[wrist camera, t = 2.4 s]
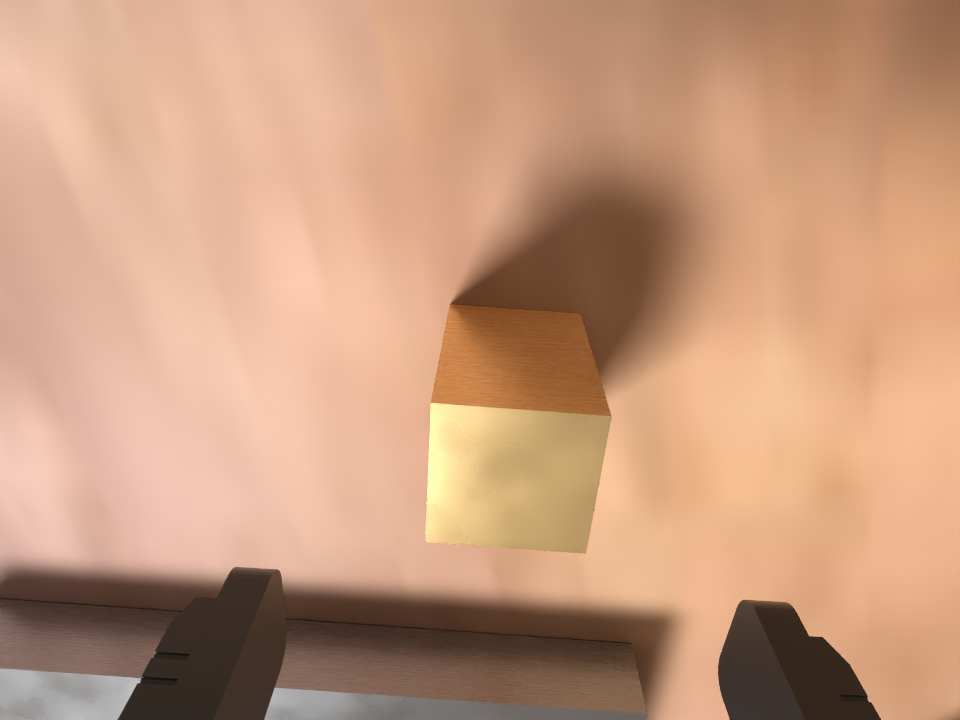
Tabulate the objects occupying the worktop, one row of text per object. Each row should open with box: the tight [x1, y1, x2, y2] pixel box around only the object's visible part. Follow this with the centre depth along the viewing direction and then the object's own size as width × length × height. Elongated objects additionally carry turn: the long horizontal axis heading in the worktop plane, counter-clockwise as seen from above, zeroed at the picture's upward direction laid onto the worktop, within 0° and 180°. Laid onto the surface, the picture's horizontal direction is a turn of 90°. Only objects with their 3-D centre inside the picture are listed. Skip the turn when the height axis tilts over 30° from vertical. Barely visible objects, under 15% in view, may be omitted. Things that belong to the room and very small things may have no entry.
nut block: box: [425, 304, 611, 554], centre depth 18 cm, size 4×4×6 cm
